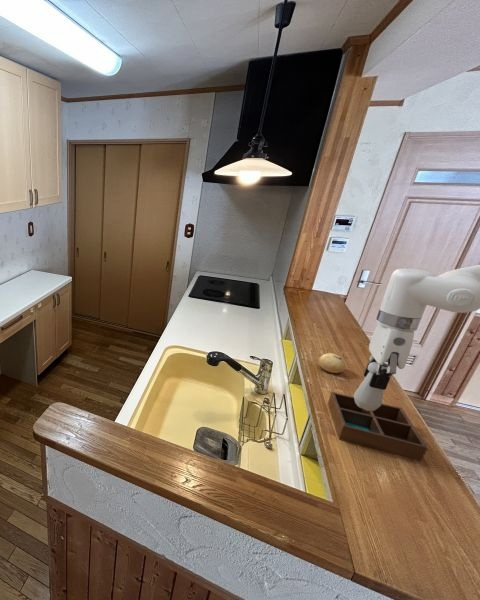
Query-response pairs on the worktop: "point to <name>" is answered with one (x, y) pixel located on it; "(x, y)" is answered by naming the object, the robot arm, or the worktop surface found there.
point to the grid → (376, 427)
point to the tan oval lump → (331, 363)
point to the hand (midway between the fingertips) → (374, 382)
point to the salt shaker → (369, 391)
